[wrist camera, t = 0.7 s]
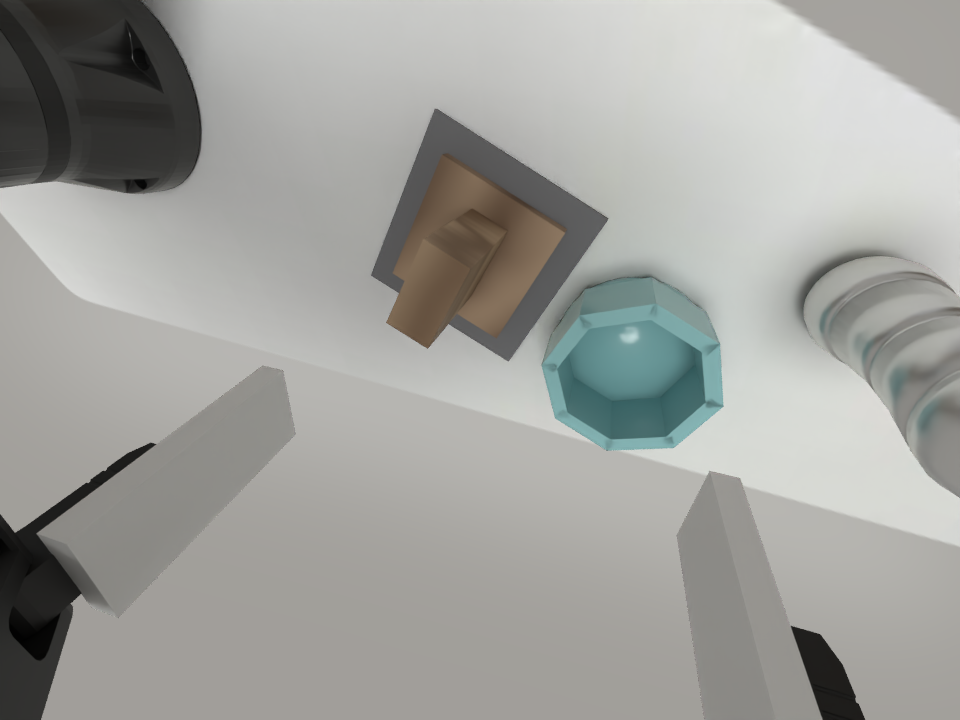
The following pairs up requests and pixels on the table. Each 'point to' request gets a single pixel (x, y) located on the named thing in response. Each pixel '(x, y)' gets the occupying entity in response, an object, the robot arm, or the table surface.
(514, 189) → the mat
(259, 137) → the table surface
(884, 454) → the table surface
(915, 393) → the plastic bottle
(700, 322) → the bowl
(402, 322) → the cover lid
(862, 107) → the table surface
